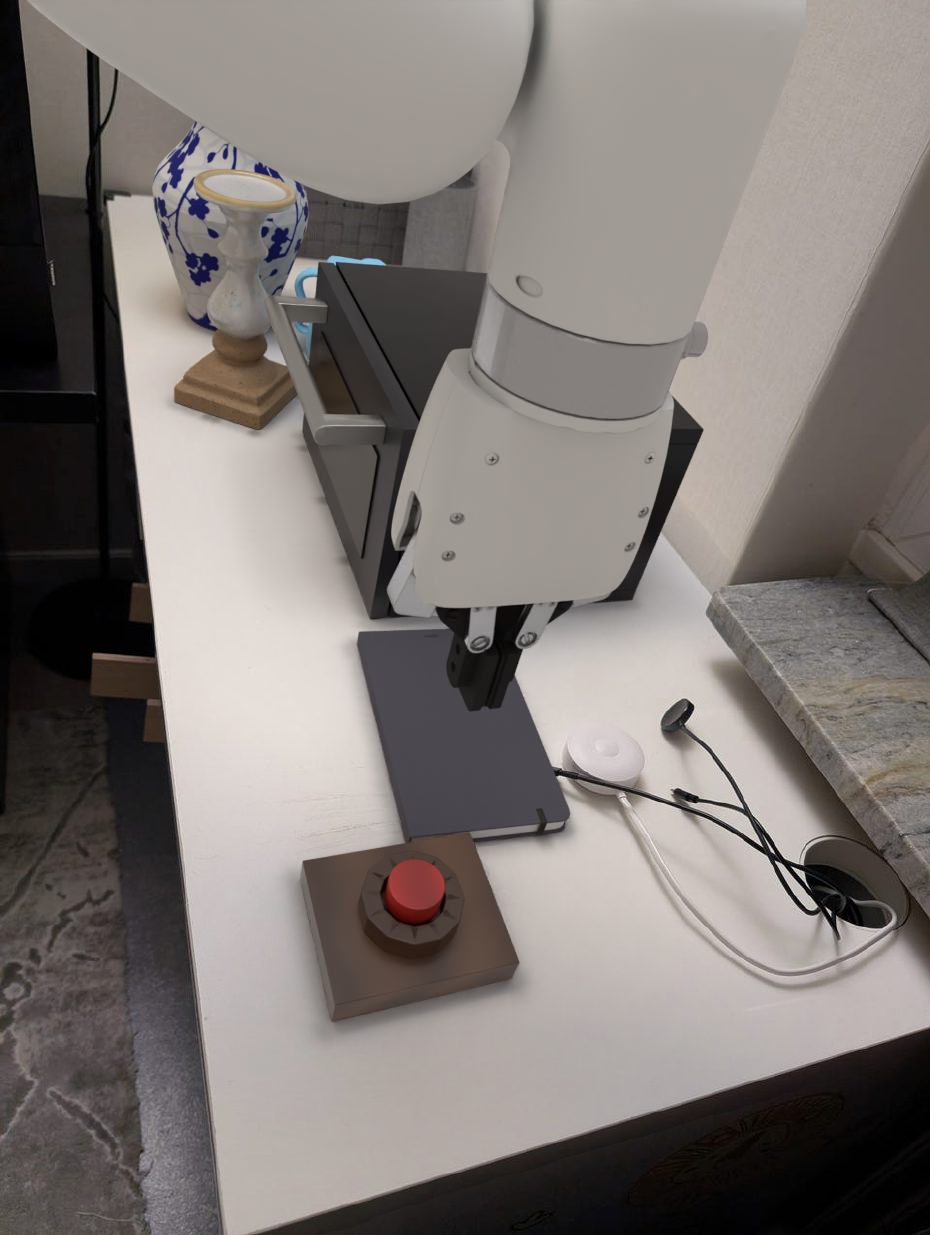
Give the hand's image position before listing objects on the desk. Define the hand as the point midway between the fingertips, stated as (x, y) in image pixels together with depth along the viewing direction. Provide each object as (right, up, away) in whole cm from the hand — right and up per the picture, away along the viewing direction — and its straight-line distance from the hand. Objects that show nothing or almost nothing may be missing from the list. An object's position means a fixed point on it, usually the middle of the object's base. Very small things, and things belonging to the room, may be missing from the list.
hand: (474, 688), depth 45 cm
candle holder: (-27, +30, +62) cm, 74 cm away
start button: (-4, -14, +13) cm, 19 cm away
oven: (0, +15, +53) cm, 55 cm away
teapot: (-13, +37, +75) cm, 84 cm away
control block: (-5, -17, +15) cm, 23 cm away
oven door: (-16, +14, +47) cm, 51 cm away
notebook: (-1, -6, +29) cm, 30 cm away
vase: (-33, +44, +77) cm, 95 cm away
